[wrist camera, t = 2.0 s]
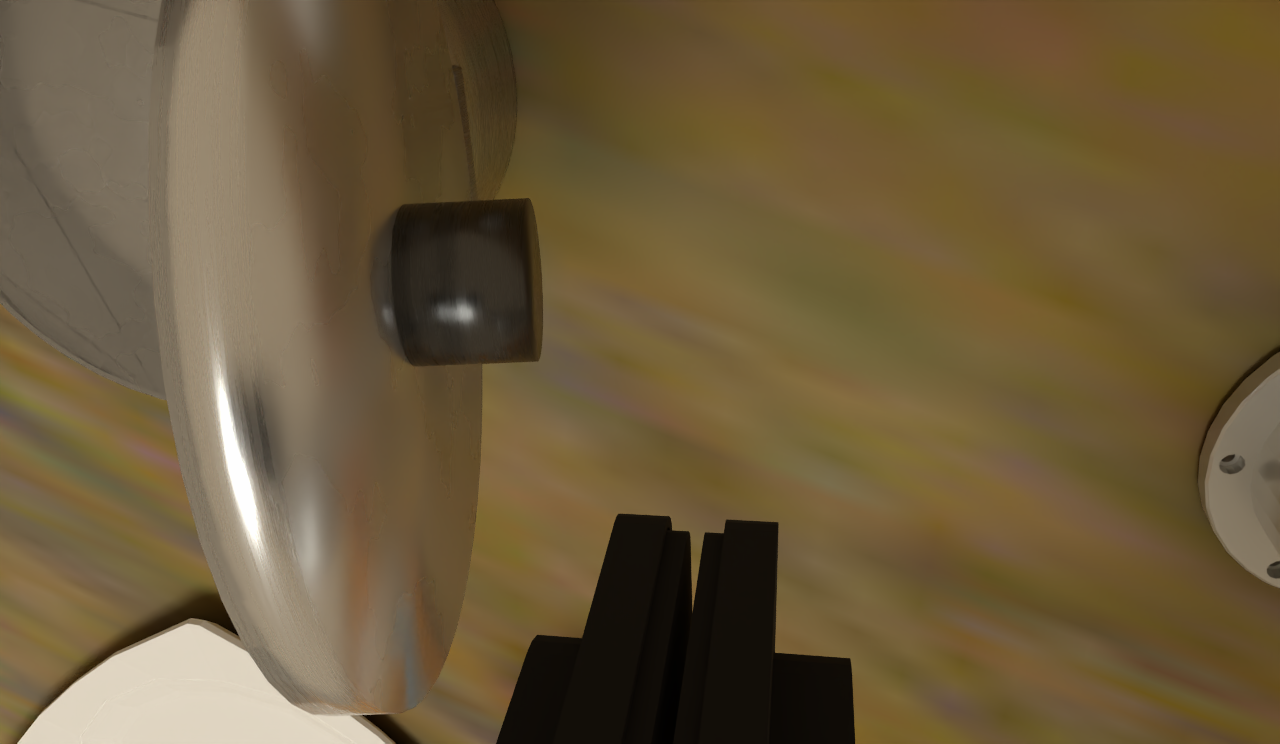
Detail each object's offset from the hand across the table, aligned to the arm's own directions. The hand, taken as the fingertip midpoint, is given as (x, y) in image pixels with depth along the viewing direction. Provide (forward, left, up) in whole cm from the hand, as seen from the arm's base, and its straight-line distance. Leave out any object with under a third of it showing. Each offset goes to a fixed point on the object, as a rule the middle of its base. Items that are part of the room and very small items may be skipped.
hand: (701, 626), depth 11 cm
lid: (+8, 0, -9) cm, 12 cm away
